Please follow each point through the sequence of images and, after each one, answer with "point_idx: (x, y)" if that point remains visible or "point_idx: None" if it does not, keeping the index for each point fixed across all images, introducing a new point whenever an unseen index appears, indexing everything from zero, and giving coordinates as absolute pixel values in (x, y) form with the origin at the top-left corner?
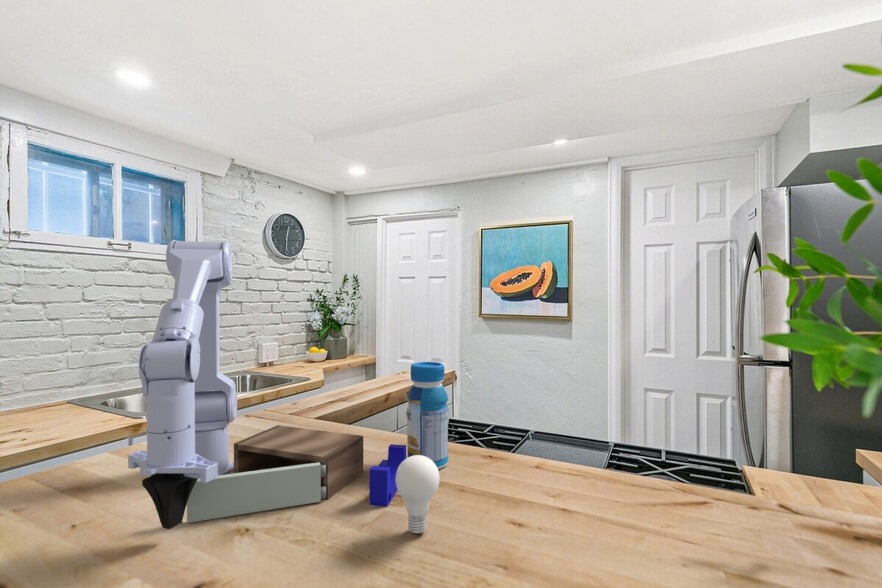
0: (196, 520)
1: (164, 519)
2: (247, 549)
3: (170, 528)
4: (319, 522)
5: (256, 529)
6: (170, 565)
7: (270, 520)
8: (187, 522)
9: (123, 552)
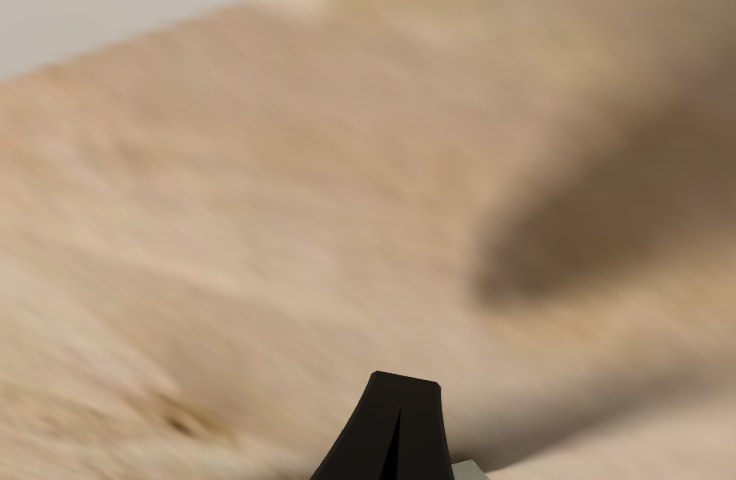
0: None
1: (386, 423)
2: (46, 319)
3: (371, 377)
4: (3, 464)
5: (149, 428)
6: (234, 162)
7: (158, 474)
8: (471, 461)
9: (641, 217)
